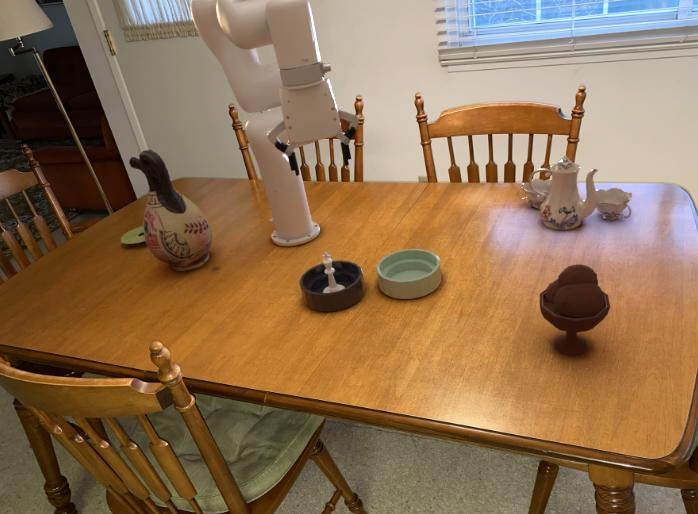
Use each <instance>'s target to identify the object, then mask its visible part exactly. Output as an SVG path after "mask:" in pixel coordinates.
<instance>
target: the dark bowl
mask: <svg viewBox="0 0 698 514" xmlns="http://www.w3.org/2000/svg"><path fill="white" fill-rule="evenodd" d="M331 268H334V270H335V271H334V272H333V276H334V279H335V282H336V284H339V285H342V286H344V287H345V288H344V289H342V290H339V291H335V292H330V293H323V291H324V289H325V288H326V287H328V286H329V279H328V274H326V273H325V270H326V267H325V265H324V264H323V262H321V263H319V264H317V265H314V266H312V267H311V268H309V269H307V270H306V271H305V272H304V273H303V274H302V275H301V276H300V279H299V287H300V292H301V295H302V299H303V302H304V304H305V305H306V306H307V308H309V309H311V310H313V311H317V312H337V311H340V310H344V309H347V308H349V307H352V306H354V305H355V304H356V303H358V302H359V301H360V300H361V299H362V298H363V296H364V295H365V293H366V284H365V278H364V272H363V270H362V269H363V268H362V267H361V266H360V265H359V264H357V263H354V262H352V261H350V260H332V267H331Z"/></svg>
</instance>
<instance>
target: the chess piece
mask: <svg viewBox="0 0 698 514" xmlns="http://www.w3.org/2000/svg"><path fill="white" fill-rule="evenodd" d="M331 257H332V256H331V254H328V251H324V254H322V255H321V258H322V259H323V260H322V263H323V264H324V265H325V267H326V270H325V273H326V274H328V279H329V286H328V287H326V288H325V289H324V291H323V293H330V292H335V291H339V290H342V289H344V288H345V287H344V286H342V285H339V284H336V282H335V279H334V276H333V272H334V271H335V270H334V268H331V267H332V261H333V259H332V258H331Z"/></svg>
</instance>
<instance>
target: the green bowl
mask: <svg viewBox="0 0 698 514" xmlns="http://www.w3.org/2000/svg"><path fill="white" fill-rule="evenodd" d="M375 269H376V276H377V283H378V287H379V289H380V291H381V292H382V293H383V294H384V295H385V296H388V297H390V298H393V299H398V300H399V299H400V300H411V299H418V298H421V297H425V296H427V295H428V294H431V293H433V292H435V290H437V289H438V288H439V286H440V284H441V283H442V270H441V269H442V268H441V259H440V258H439V256H438V255H437V254H436V253H434V252H432V251H430V250H426V249H424V248H423V249H422V248H405V249H401V250H396V251H393V252H391V253H388V254H387V255H385V256H384V257H382V258H381V259H380V260H379V261H378V263H377V265H376V268H375Z"/></svg>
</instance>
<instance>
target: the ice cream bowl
mask: <svg viewBox="0 0 698 514" xmlns="http://www.w3.org/2000/svg"><path fill="white" fill-rule="evenodd" d="M557 277H558V278H557V279H554V280H553V281H552V282H550V283H549V284H548V286H547V287H546V289H544V290H543V291H541V292H540V293H539V309H540V313H541V315H542V317H543V319H544V320H546V321H547V322H548V323H549V324H551V326H553V327H554V328H555V329H557V330H559V331H561V332H565V334H560V335H559V336H558V337H557V338H555V339H554V342H553V345H554V349H555V350H556V352H558V353H559V354H560V355H563V356H568V357H576V356H583V354H584V353H586V352H587V351H588V343H587V340H586V339H584V338H583V336H581V335H578V333H583V332H588V331H591V330H593V329H595V327H597V326H598V325H599V324H600V323H601V322H603V321H604V320H605V318H606V317H607V316H608V314H609V312H610V309H611V303H610V297H609V294H608V293H606V292H605V291H603V290H602V288H601V287H600V286H599V279H598V274H597V272H596V271H595V270H594V268H592V267H590V266H589V265H585V264H581V263H578V264H577V263H576V264H571V265H569V266H567V267H566V268H564V269H563V270H562V271H561V272H560V273H559V274H558V276H557Z"/></svg>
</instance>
